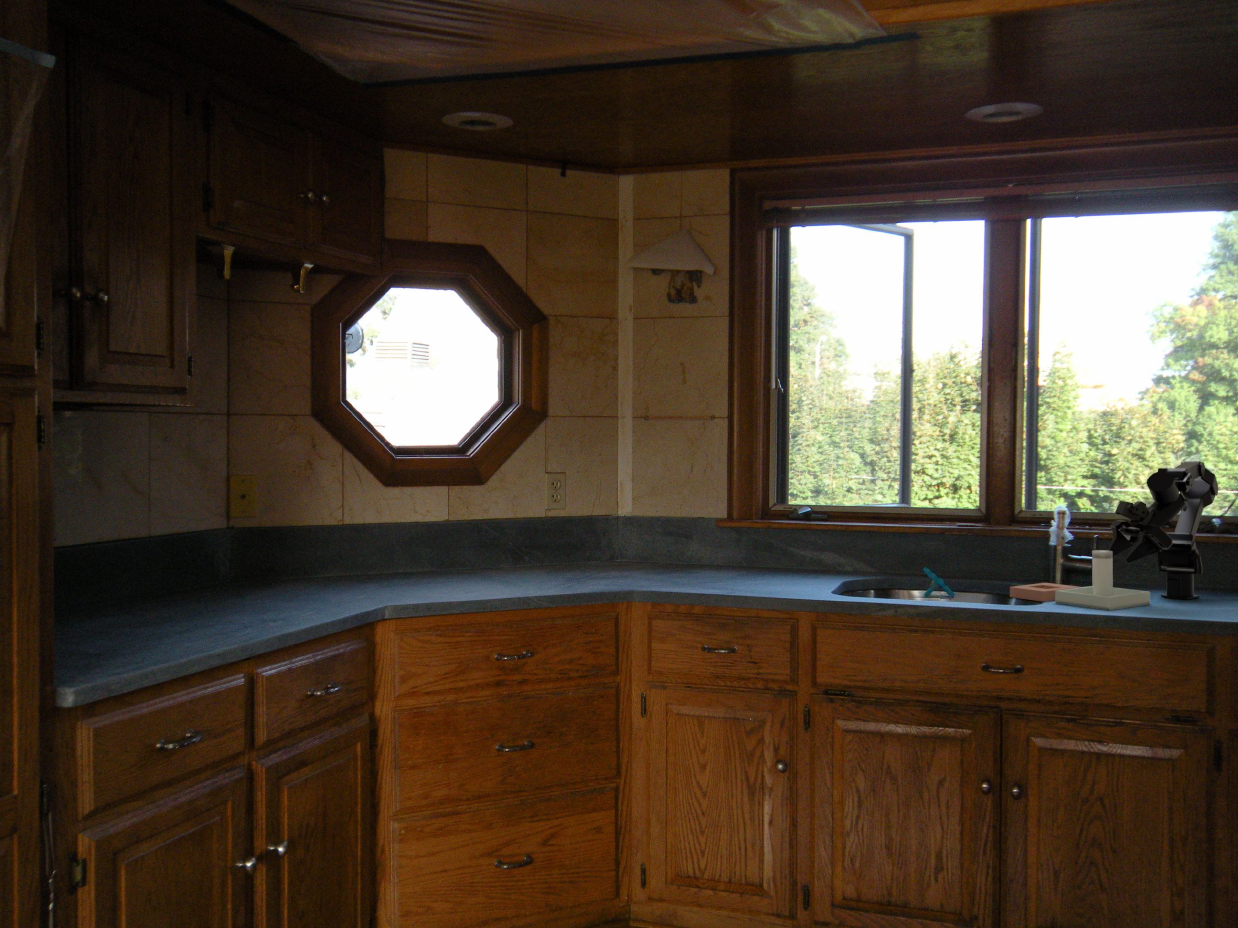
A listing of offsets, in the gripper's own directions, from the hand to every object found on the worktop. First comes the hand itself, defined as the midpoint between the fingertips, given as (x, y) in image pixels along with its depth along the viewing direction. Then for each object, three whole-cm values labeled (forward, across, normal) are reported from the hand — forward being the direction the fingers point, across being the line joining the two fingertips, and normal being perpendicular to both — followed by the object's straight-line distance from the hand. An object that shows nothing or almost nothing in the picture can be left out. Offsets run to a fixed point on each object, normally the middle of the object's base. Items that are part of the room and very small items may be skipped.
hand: (1116, 559), depth 248 cm
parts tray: (+10, 0, +5) cm, 11 cm away
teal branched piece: (+34, -16, -19) cm, 42 cm away
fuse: (+10, 0, +4) cm, 11 cm away
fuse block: (+16, -12, -1) cm, 20 cm away
